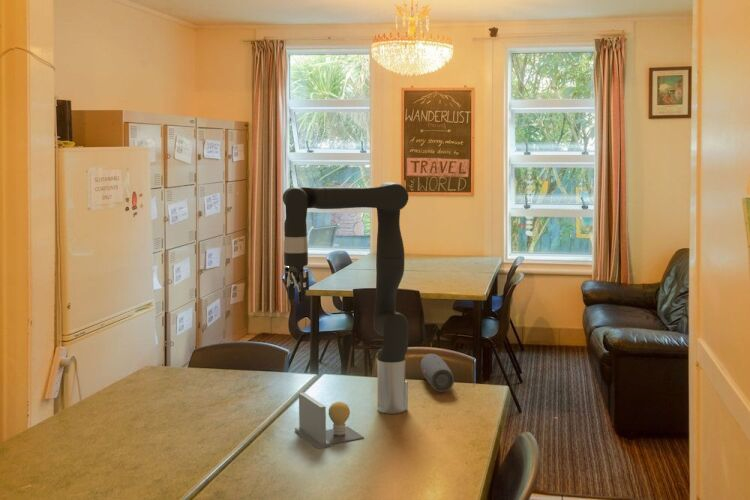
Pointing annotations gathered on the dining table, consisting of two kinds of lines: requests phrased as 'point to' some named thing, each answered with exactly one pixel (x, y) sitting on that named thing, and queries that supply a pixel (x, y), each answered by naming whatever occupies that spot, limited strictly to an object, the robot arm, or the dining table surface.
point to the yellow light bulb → (339, 417)
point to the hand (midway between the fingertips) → (296, 301)
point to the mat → (342, 436)
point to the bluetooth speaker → (437, 372)
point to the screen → (312, 421)
